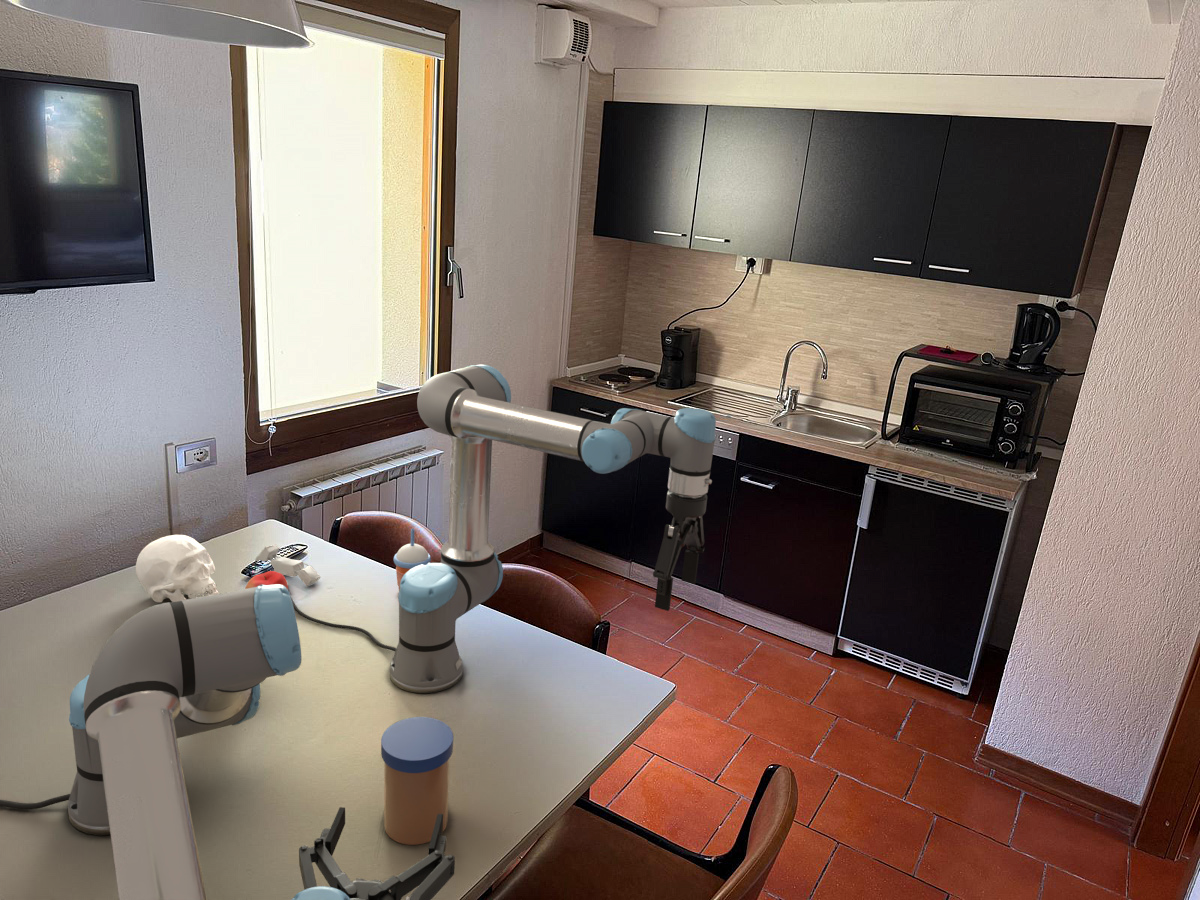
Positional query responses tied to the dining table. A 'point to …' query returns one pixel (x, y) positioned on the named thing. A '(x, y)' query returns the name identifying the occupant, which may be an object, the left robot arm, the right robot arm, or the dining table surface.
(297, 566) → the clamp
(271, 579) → the apple
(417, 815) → the jar
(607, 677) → the dining table surface
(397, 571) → the cup with straw
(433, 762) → the lid
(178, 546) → the skull
